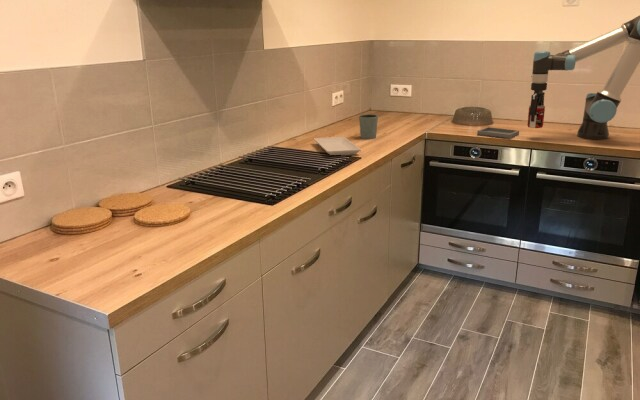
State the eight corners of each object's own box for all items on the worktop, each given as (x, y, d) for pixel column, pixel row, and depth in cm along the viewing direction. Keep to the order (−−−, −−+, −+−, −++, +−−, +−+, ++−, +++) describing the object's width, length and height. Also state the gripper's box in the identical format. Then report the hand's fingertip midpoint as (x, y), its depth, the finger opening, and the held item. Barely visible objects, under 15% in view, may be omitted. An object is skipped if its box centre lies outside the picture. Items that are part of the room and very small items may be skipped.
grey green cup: (378, 136, 289) (379, 114, 285) (375, 140, 280) (376, 117, 276) (360, 135, 292) (361, 113, 288) (357, 139, 282) (357, 116, 279)
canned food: (526, 127, 275) (528, 106, 271) (528, 125, 282) (530, 104, 278) (542, 128, 271) (544, 107, 268) (543, 125, 278) (545, 105, 275)
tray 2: (518, 135, 288) (519, 130, 287) (509, 139, 277) (510, 134, 277) (487, 131, 298) (487, 126, 298) (477, 135, 288) (477, 130, 287)
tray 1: (344, 142, 276) (344, 136, 275) (361, 156, 247) (361, 149, 246) (313, 144, 273) (312, 137, 272) (327, 158, 244) (326, 151, 243)
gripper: (538, 80, 279) (534, 122, 286) (524, 84, 264) (521, 128, 271) (553, 80, 275) (548, 123, 282) (540, 84, 259) (535, 130, 266)
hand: (535, 126), depth 276 cm, fingers closed on canned food, 8 cm apart
